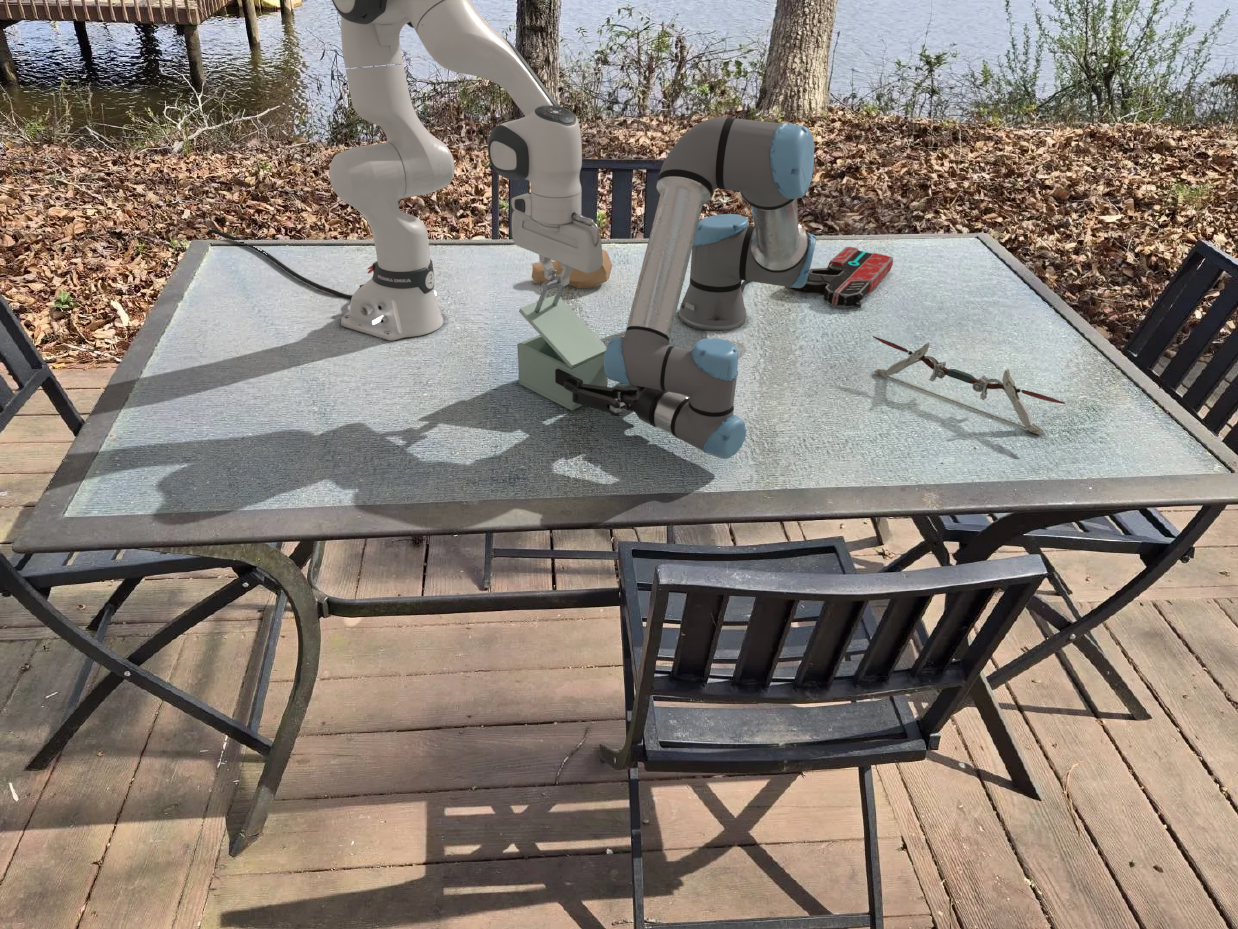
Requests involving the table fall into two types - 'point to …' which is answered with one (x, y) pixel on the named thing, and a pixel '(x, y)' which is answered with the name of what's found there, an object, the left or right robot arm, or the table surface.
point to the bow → (978, 385)
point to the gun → (847, 277)
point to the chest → (540, 371)
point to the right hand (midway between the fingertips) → (576, 366)
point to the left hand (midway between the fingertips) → (556, 281)
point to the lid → (562, 327)
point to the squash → (577, 274)
